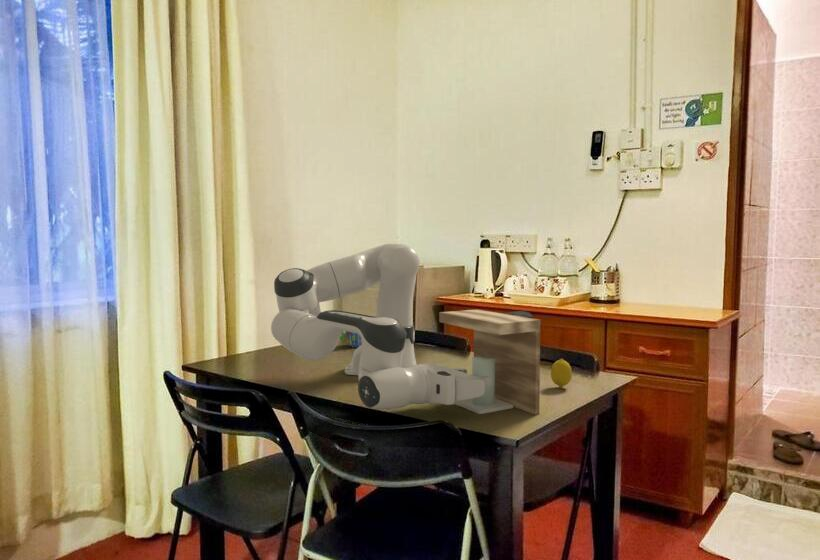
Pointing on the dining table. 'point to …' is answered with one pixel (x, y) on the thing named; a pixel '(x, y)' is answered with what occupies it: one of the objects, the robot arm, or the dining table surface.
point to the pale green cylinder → (484, 368)
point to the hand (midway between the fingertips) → (477, 376)
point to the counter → (504, 356)
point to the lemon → (561, 373)
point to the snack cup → (352, 339)
